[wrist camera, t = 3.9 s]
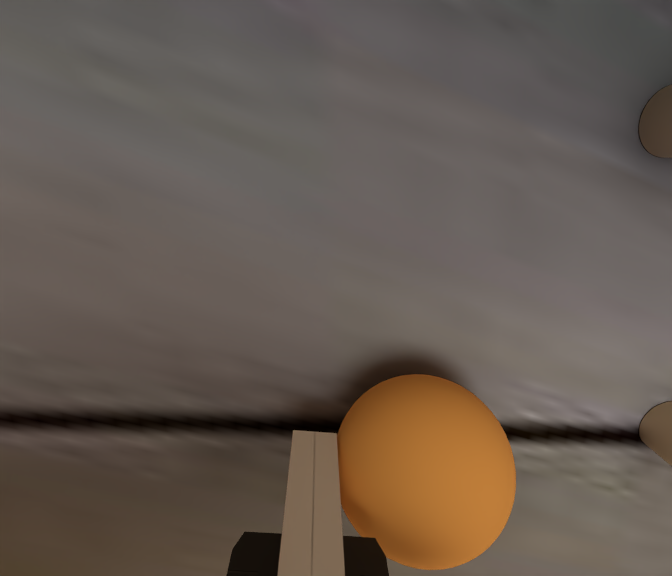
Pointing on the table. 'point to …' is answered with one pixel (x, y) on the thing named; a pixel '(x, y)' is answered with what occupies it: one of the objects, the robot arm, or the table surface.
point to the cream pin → (658, 430)
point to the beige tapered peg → (658, 124)
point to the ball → (425, 471)
